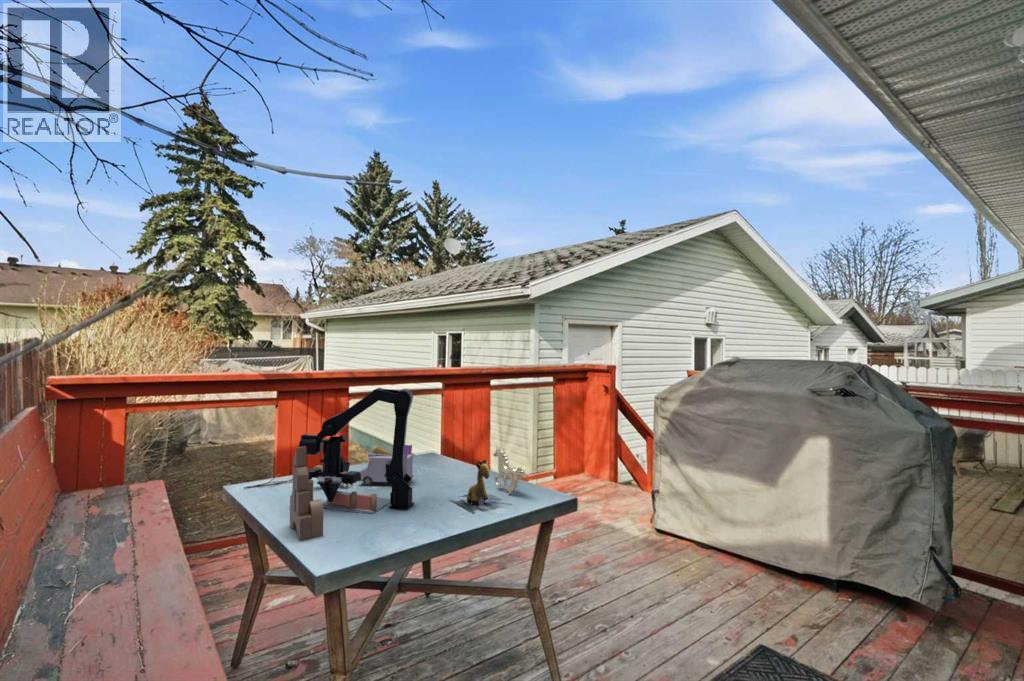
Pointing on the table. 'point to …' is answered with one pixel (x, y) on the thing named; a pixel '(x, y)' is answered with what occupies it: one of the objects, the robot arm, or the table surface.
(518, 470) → the unicorn
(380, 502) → the board
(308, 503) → the wooden toy
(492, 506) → the stuffed giraffe
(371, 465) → the toy vehicle
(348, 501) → the gate panel
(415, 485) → the table surface
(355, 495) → the fixed fence
